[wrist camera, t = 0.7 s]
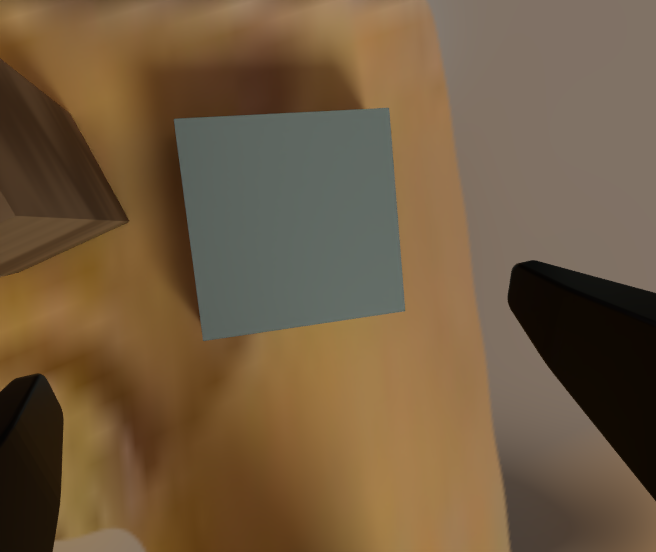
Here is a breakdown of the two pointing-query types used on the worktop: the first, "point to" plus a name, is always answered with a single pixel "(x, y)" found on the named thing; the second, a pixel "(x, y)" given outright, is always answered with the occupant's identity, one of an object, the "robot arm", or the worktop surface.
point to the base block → (291, 218)
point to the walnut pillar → (46, 179)
